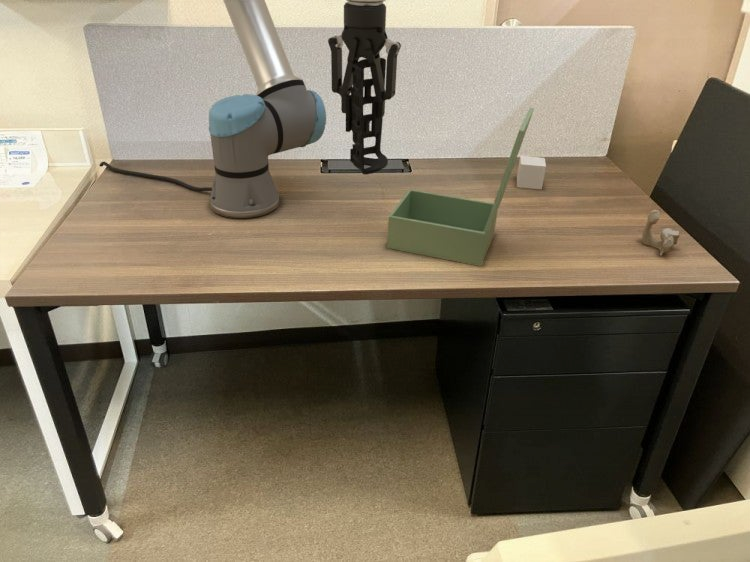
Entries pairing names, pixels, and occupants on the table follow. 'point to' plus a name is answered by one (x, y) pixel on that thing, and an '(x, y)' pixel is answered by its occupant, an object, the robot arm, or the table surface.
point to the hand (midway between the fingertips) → (362, 131)
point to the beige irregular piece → (667, 235)
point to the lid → (509, 168)
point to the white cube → (531, 172)
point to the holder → (365, 121)
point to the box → (441, 227)
